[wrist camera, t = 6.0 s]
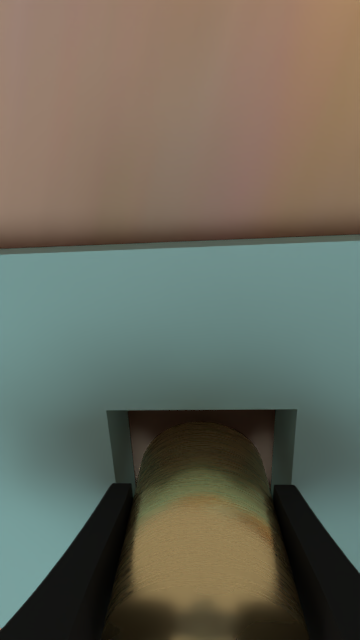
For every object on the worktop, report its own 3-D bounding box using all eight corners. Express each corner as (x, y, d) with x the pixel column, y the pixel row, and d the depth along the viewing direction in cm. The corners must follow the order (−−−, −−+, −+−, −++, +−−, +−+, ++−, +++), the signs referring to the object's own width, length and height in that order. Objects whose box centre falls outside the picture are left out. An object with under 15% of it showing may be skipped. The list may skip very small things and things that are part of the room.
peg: (266, 421, 10) (323, 588, 6) (261, 521, 12) (305, 724, 7) (135, 421, 11) (87, 582, 6) (145, 519, 12) (112, 714, 7)
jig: (473, 229, 10) (558, 232, 8) (393, 577, 15) (430, 644, 13) (-55, 251, 11) (-122, 259, 9) (29, 567, 16) (0, 627, 14)
